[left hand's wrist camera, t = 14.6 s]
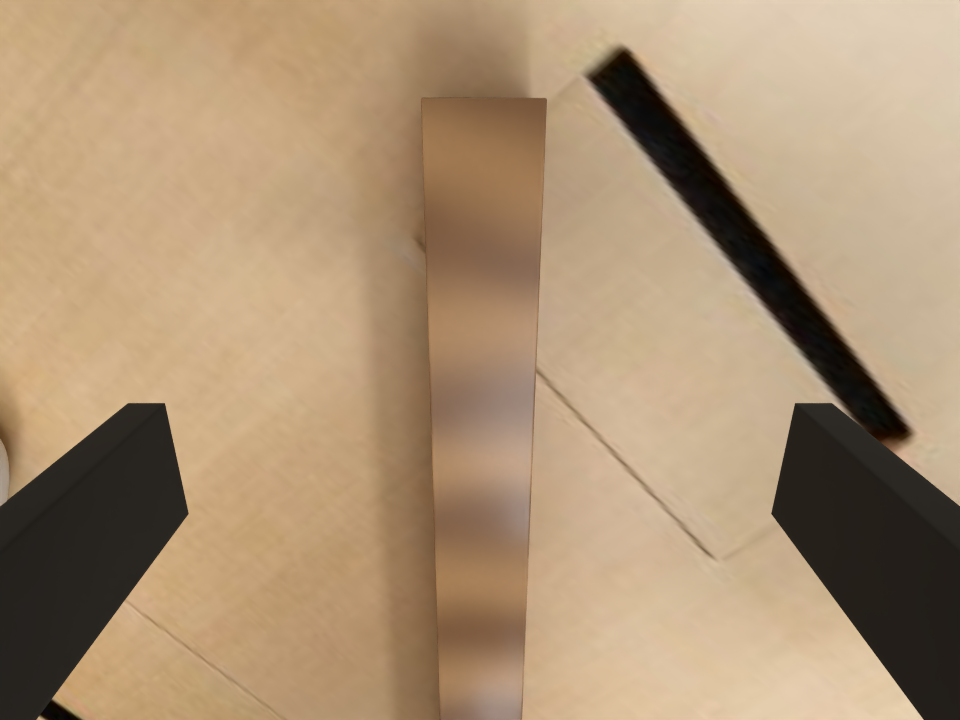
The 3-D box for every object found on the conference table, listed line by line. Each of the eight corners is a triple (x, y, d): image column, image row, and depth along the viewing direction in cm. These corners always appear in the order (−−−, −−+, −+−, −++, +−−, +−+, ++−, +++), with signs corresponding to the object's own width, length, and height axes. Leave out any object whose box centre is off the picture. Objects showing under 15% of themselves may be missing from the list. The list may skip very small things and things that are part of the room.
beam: (434, 102, 33) (420, 97, 25) (531, 102, 33) (547, 97, 25) (450, 814, 55) (446, 920, 47) (509, 814, 55) (513, 920, 47)
